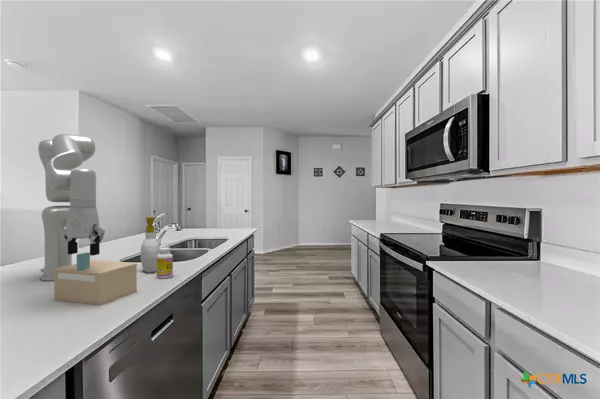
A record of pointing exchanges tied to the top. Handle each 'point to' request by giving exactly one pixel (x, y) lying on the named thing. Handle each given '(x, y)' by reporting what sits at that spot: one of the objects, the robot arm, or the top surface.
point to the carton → (94, 286)
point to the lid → (94, 266)
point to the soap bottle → (149, 248)
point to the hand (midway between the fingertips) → (83, 254)
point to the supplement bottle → (164, 263)
